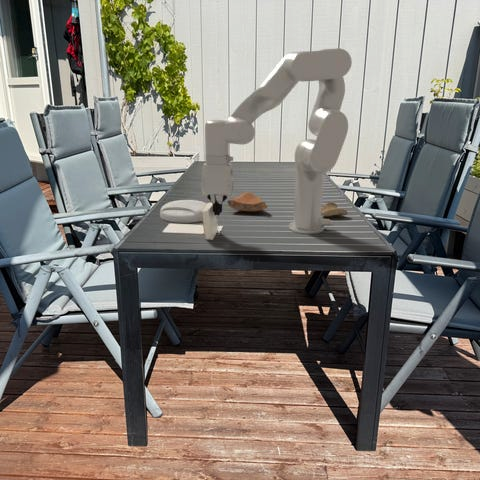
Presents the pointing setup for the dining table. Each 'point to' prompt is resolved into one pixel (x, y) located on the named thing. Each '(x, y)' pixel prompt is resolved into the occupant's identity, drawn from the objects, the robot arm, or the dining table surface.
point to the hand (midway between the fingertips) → (217, 214)
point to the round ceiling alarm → (182, 211)
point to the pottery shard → (332, 210)
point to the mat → (187, 228)
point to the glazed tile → (209, 221)
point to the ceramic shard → (247, 202)
